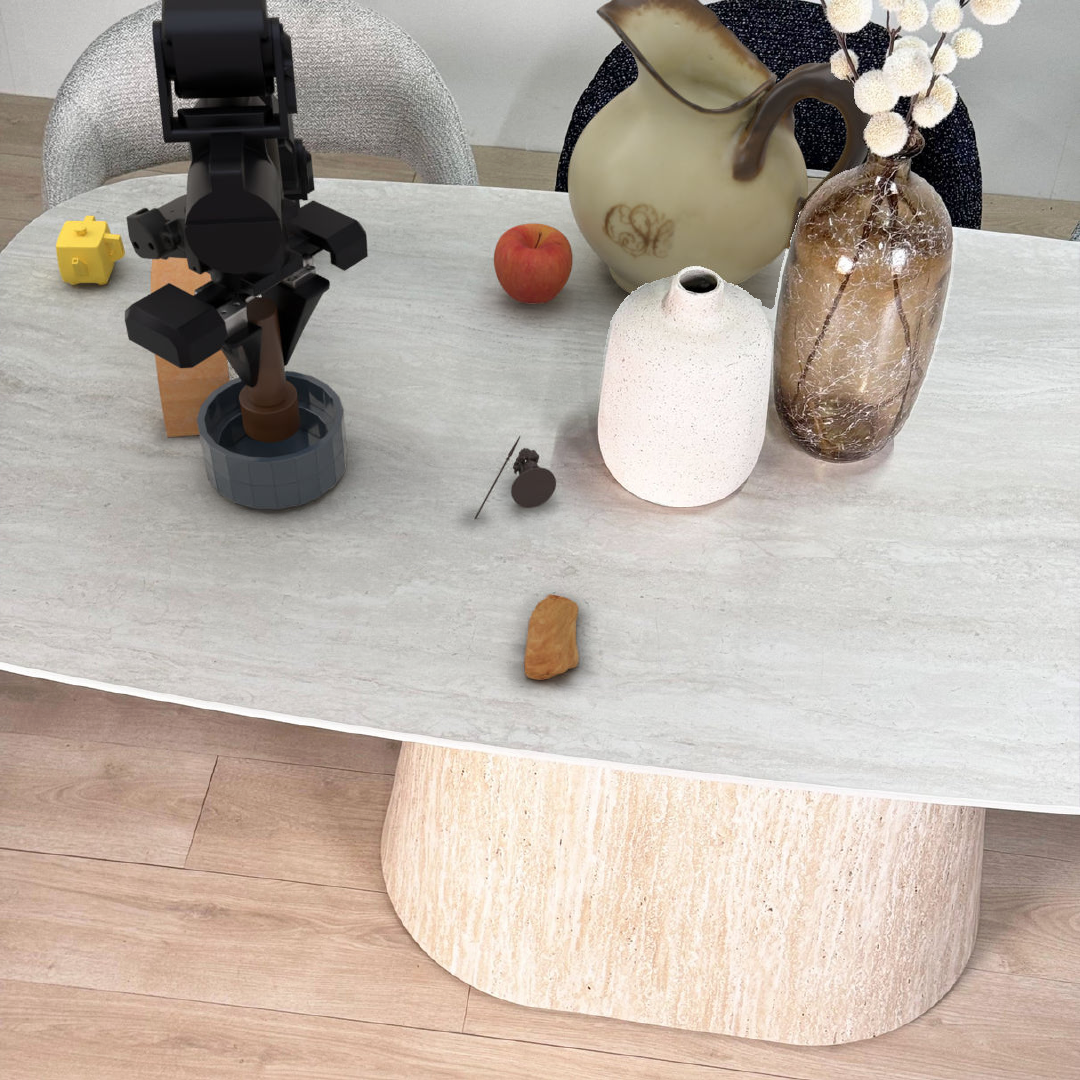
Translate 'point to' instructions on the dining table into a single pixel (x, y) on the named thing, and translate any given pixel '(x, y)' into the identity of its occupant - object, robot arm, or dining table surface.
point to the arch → (185, 385)
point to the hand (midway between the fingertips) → (265, 374)
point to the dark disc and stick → (528, 480)
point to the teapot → (87, 251)
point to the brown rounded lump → (551, 638)
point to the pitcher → (697, 150)
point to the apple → (533, 262)
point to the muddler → (269, 383)
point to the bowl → (274, 448)
